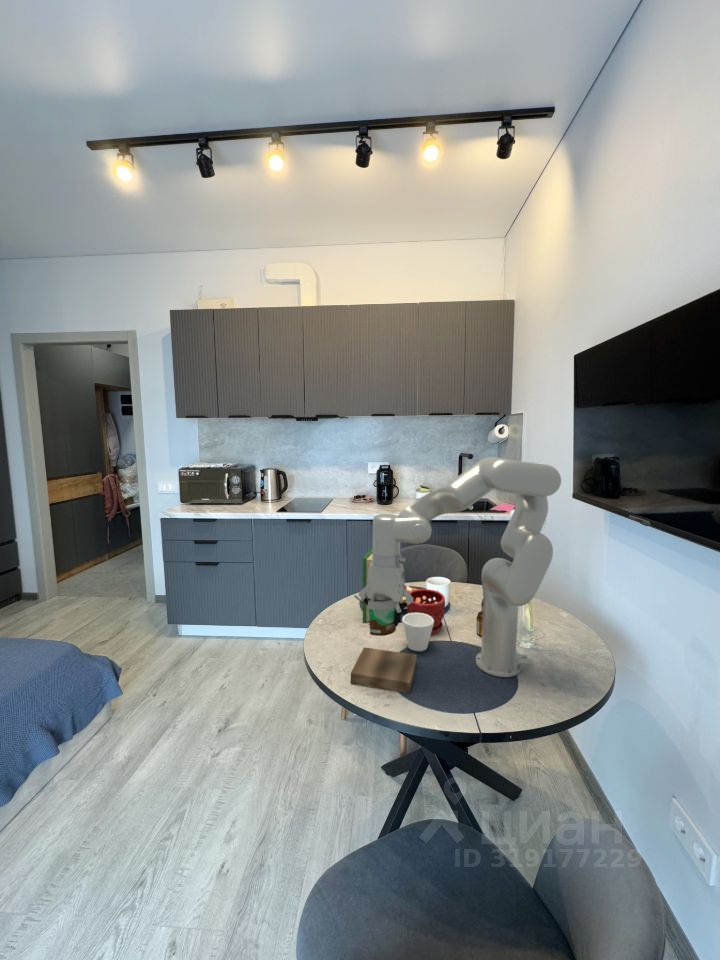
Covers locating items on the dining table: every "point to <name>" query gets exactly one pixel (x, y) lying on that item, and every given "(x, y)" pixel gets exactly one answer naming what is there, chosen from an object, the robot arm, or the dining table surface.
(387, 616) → the food container
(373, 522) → the robot arm
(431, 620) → the cup
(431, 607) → the plant pot
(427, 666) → the dining table surface
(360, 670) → the walnut base
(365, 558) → the hardback book
